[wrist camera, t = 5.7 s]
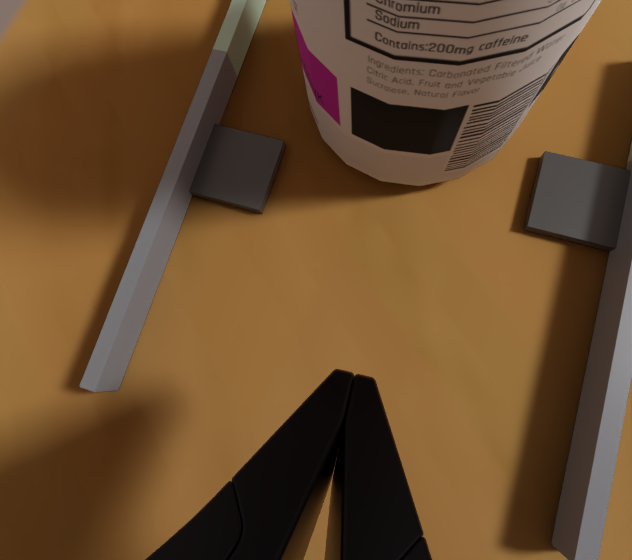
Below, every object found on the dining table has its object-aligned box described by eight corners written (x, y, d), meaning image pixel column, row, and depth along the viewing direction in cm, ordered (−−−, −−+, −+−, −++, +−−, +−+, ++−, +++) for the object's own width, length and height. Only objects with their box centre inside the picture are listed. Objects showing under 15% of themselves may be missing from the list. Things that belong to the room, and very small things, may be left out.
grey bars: (570, 550, 14) (595, 572, 12) (104, 385, 16) (79, 386, 15) (664, 61, 17) (694, 32, 15) (258, -14, 19) (249, -46, 18)
